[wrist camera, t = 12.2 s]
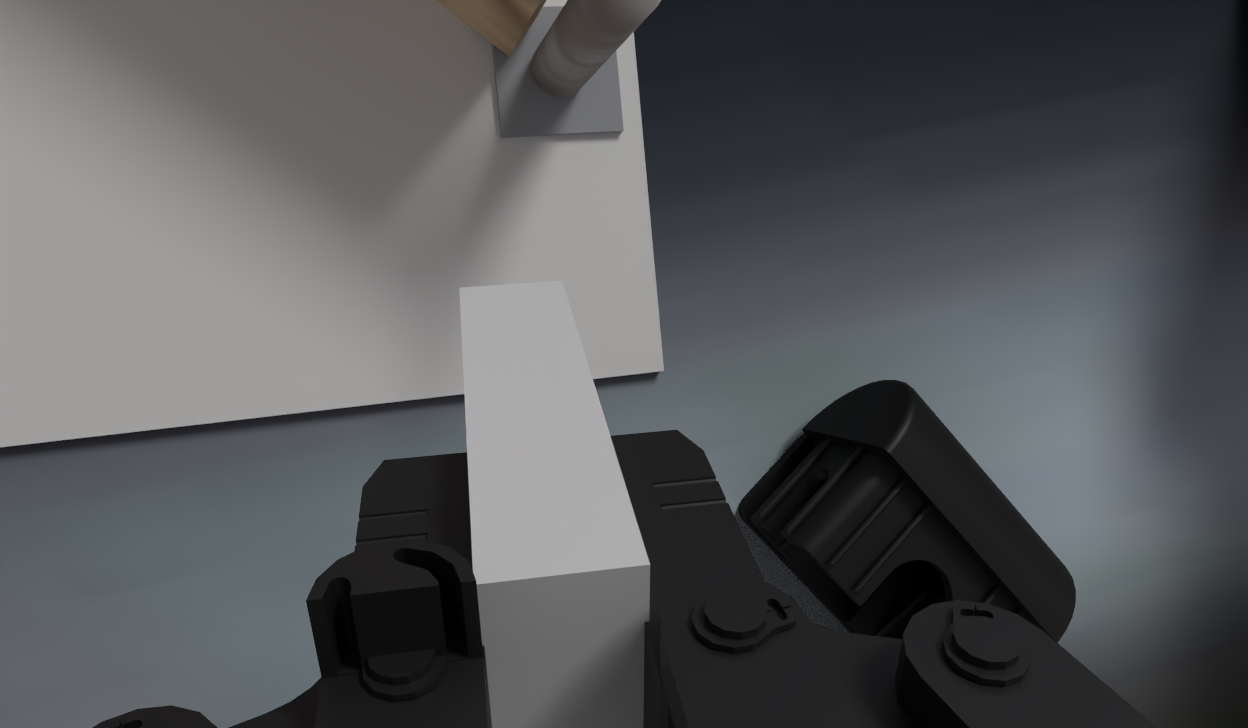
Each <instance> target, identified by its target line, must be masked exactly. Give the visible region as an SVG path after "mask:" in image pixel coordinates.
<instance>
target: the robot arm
mask: <svg viewBox="0 0 1248 728" xmlns="http://www.w3.org/2000/svg"><path fill="white" fill-rule="evenodd" d="M459 291H460V312H461V333H462V354H463V375H464V396H465V417H466V438H467V452H466V453H455V454H445V455H434V456H423V457H413V458H402V459H391V460H384V461H383V462H382V463H381V465H380V466H379V467H378V468H377V470H376V471H375V472H374V473H373V475H372V476H371V477H370V478H369V480H368V481H367V482H366V483H365V485H364V486H363V489H362V497H361V505H360V512H359V522H358V528H357V536H356V546H355V551H354V552H353V553H351V554H349V555H347V556H345V557H343V558H341V559H339V560H337V561H336V562H335V563H333V564H332V565H331V566H330V567H329V568H328V569H327V570H326V571H325V572H324V573H322V574H321V575H320V576H319V577H318V578H317V579H316V581H315V583H314V585H313V587H312V589H311V591H310V594H309V596H308V598H307V600H306V602H307V607H308V612H309V617H310V622H311V627H312V632H313V637H314V642H315V647H316V652H317V657H318V662H319V666H320V671H321V676H322V677H321V678H320V679H319V680H318V681H317V682H316V683H315V684H314V685H313V686H312V687H311V688H310V689H308V690H307V691H305V692H304V693H303V694H301V695H300V696H298V697H297V698H295V699H294V700H292V701H291V702H289V703H287V704H285V705H283V706H281V707H279V708H276V709H274V710H272V711H270V712H268V713H266V714H263V715H261V716H258V717H255V718H253V719H250V720H248V721H245V722H242V723H240V724H237V725H234V726H232V727H229V728H1157V727H1155V726H1154V725H1153V724H1152V723H1151V722H1150V721H1148V720H1147V719H1146V718H1145V717H1144V716H1143V715H1141V714H1140V713H1139V712H1138V711H1137V710H1135V709H1134V708H1133V707H1132V706H1131V705H1130V704H1128V703H1127V702H1126V701H1125V700H1124V699H1122V698H1121V697H1120V696H1119V695H1118V694H1117V693H1115V692H1114V691H1113V690H1112V689H1111V688H1110V687H1108V686H1107V685H1106V684H1105V683H1104V682H1102V681H1101V680H1100V679H1099V678H1098V677H1097V676H1095V675H1094V674H1093V673H1092V672H1091V671H1090V670H1088V669H1087V668H1086V667H1085V666H1084V665H1082V664H1081V663H1080V662H1079V661H1078V660H1077V659H1075V658H1074V657H1073V656H1072V655H1071V654H1070V653H1068V652H1067V651H1066V650H1065V649H1064V648H1062V647H1061V646H1060V645H1059V644H1058V643H1057V642H1055V641H1054V640H1053V639H1052V638H1051V637H1050V636H1048V635H1047V634H1046V633H1045V632H1044V631H1042V630H1041V629H1039V628H1038V627H1036V626H1035V625H1033V624H1031V623H1030V622H1028V621H1027V620H1025V619H1024V618H1022V617H1021V616H1019V615H1018V614H1015V613H1012V612H1010V611H1007V610H1004V609H1001V608H999V607H996V606H993V605H990V604H987V603H979V602H970V601H961V600H955V601H948V602H942V603H936V604H931V605H929V606H928V607H926V608H924V609H923V610H921V611H919V612H918V613H916V614H914V615H913V616H912V618H911V620H910V621H909V623H908V625H907V627H906V629H905V631H904V633H903V638H902V639H896V638H888V637H879V636H871V635H863V634H854V633H848V632H843V631H838V630H833V629H828V628H825V627H823V626H820V625H817V624H815V623H812V622H810V621H809V620H808V618H807V616H806V614H805V613H804V612H803V611H802V609H801V608H800V607H799V606H798V604H797V603H796V602H795V601H794V600H793V598H792V597H790V596H789V595H787V594H785V593H784V592H782V591H781V590H779V589H777V588H776V587H774V586H772V585H771V584H768V583H765V581H764V579H763V577H762V575H761V573H760V571H759V568H758V566H757V564H756V562H755V560H754V558H753V556H752V553H751V551H750V549H749V547H748V545H747V543H746V541H745V538H744V536H743V534H742V532H741V530H740V528H739V526H738V523H737V521H736V519H735V517H734V515H733V513H732V511H731V508H730V506H729V504H728V503H726V499H725V496H724V493H723V491H722V489H721V487H720V485H719V483H718V481H717V482H716V476H715V474H714V472H713V470H712V468H711V466H710V463H709V461H708V459H707V457H706V455H705V453H704V451H703V450H702V449H701V448H700V447H698V446H697V445H696V444H694V443H693V442H692V441H690V440H689V439H688V438H687V437H685V436H684V435H683V434H681V433H680V432H679V431H678V430H670V431H659V432H648V433H638V434H627V435H616V436H610V433H609V430H608V427H607V424H606V420H605V417H604V414H603V411H602V407H601V404H600V401H599V398H598V395H597V391H596V388H595V385H594V382H593V378H592V375H591V372H590V369H589V365H588V362H587V359H586V356H585V353H584V349H583V346H582V343H581V340H580V336H579V333H578V330H577V327H576V324H575V320H574V317H573V314H572V311H571V307H570V304H569V301H568V298H567V294H566V291H565V288H564V285H563V282H562V281H550V282H535V283H520V284H505V285H490V286H475V287H460V288H459ZM93 728H217V727H216V726H215V725H214V724H213V723H211V722H210V721H209V720H208V719H207V718H206V717H205V716H203V715H202V714H201V713H200V712H197V711H192V710H188V709H184V708H180V707H175V706H163V707H153V708H143V709H136V710H134V711H131V712H128V713H125V714H123V715H120V716H117V717H114V718H111V719H109V720H106V721H103V722H101V723H99V724H98V725H96V726H95V727H93Z"/></svg>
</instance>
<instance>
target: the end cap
mask: <svg viewBox="0 0 1248 728" xmlns="http://www.w3.org/2000/svg"><path fill="white" fill-rule="evenodd" d="M802 430H803V432H804V434H803V435H801V436H800V437H799V438H798V439H797V440H796V441H795V442H794V444H793V445H792V446H791V447H790V448H789V449H788V450H787V451H786V452H785V453H784V454H783V455H782V456H781V458H780V459H779V460H778V461H777V462H776V463H775V464H774V465H773V466H772V467H771V468H770V469H769V471H768V472H767V473H766V474H765V475H764V476H763V477H762V478H761V479H760V480H759V481H758V482H757V484H756V485H755V486H754V487H753V488H752V489H751V490H750V491H749V492H748V493H747V494H746V495H745V496H744V498H743V499H742V501H741V503H740V504H739V514H740V516H741V518H742V520H743V521H744V522H745V523H746V524H747V525H748V526H749V527H750V528H751V529H752V530H753V531H754V532H755V533H756V534H757V535H758V536H759V538H760V539H761V540H762V541H763V542H764V543H765V544H766V545H767V546H768V547H769V548H770V549H771V550H772V551H773V552H774V553H775V554H776V555H777V556H778V557H779V559H780V560H781V561H782V562H783V563H784V564H785V565H786V566H787V567H788V568H789V569H790V570H791V571H792V572H793V573H794V574H795V575H796V576H797V577H798V578H799V579H800V581H801V582H802V583H803V584H804V585H805V586H806V587H807V588H808V589H809V590H810V591H811V592H812V593H813V594H814V595H815V596H816V597H817V598H818V599H819V600H820V602H821V603H822V604H823V605H824V606H825V607H826V608H827V609H828V610H829V611H830V612H831V613H832V614H833V615H834V616H835V617H836V618H837V619H838V620H839V621H840V623H841V624H842V625H843V626H844V627H845V628H846V629H847V630H848V631H849V632H850V633H854V634H863V635H871V636H879V637H888V638H896V639H902V638H903V633H904V631H905V629H906V627H907V625H908V623H909V621H910V620H911V618H912V616H913V615H914V614H916V613H918V612H919V611H921V610H923V609H924V608H926V607H928V606H929V605H931V604H936V603H942V602H948V601H955V600H961V601H970V602H979V603H987V604H990V605H993V606H996V607H999V608H1001V609H1004V610H1007V611H1010V612H1012V613H1015V614H1018V615H1019V616H1021V617H1022V618H1024V619H1025V620H1027V621H1028V622H1030V623H1031V624H1033V625H1035V626H1036V627H1038V628H1039V629H1041V630H1042V631H1044V632H1045V633H1046V634H1047V635H1048V636H1050V637H1051V638H1052V639H1053V640H1054V641H1055V642H1057V643H1058V641H1059V640H1060V638H1061V637H1062V635H1063V634H1064V633H1065V631H1066V629H1067V627H1068V625H1069V623H1070V621H1071V618H1072V616H1073V612H1074V608H1075V600H1076V590H1075V586H1074V582H1073V578H1072V576H1071V575H1070V573H1069V571H1068V570H1067V568H1066V567H1065V565H1064V564H1063V563H1062V562H1061V561H1060V560H1059V558H1058V557H1057V556H1056V555H1055V554H1054V553H1053V551H1052V550H1051V549H1050V548H1049V547H1048V546H1047V544H1046V543H1045V542H1044V541H1043V540H1042V539H1041V537H1040V536H1039V535H1038V534H1037V533H1036V532H1035V530H1034V529H1033V528H1032V527H1031V526H1030V525H1029V523H1028V522H1027V521H1026V520H1025V519H1024V518H1023V516H1022V515H1021V514H1020V513H1019V512H1018V511H1017V509H1016V508H1015V507H1014V506H1013V505H1012V503H1011V502H1010V501H1009V500H1008V499H1007V498H1006V496H1005V495H1004V494H1003V493H1002V492H1001V491H1000V489H999V488H998V487H997V486H996V485H995V484H994V482H993V481H992V480H991V479H990V478H989V477H988V475H987V474H986V473H985V472H984V471H983V470H982V468H981V467H980V466H979V465H978V464H977V463H976V461H975V460H974V459H973V458H972V457H971V456H970V454H969V453H968V452H967V451H966V450H965V449H964V447H963V446H962V445H961V444H960V443H959V442H958V440H957V439H956V438H955V437H954V436H953V435H952V433H951V432H950V431H949V430H948V429H947V428H946V426H945V425H944V424H943V423H942V422H941V420H940V419H939V418H938V417H937V416H936V415H935V413H934V412H933V411H932V410H931V409H930V408H929V406H928V405H927V404H926V403H925V402H924V401H923V399H922V398H921V397H920V396H919V395H918V394H917V392H916V391H915V390H914V389H913V388H912V387H910V386H909V385H908V384H906V383H904V382H901V381H897V380H882V381H877V382H872V383H870V384H867V385H864V386H861V387H859V388H857V389H855V390H853V391H851V392H849V393H847V394H845V395H844V396H842V397H841V398H839V399H837V400H836V401H834V402H833V403H832V404H830V405H829V406H827V407H826V408H825V409H823V410H822V411H821V412H820V413H819V414H818V415H816V416H815V417H814V418H813V419H812V420H811V421H810V422H809V423H808V424H807V425H806V426H805V427H804V428H803V429H802Z"/></svg>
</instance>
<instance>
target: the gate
mask: <svg viewBox="0 0 1248 728" xmlns="http://www.w3.org/2000/svg"><path fill="white" fill-rule="evenodd" d="M436 1H438V2H439V3H440V4H441V5H443V6H444V7H445V8H447V9H448V10H449V11H451V12H452V13H453V14H454V15H456V16H457V17H458V18H460V19H461V20H462V21H463V22H465V23H466V24H467V25H469V26H470V27H471V28H472V29H474V30H475V31H476V32H478V33H479V34H480V35H481V36H483V37H484V38H485V39H487V40H488V41H489V42H490V43H492V44H493V45H494V46H496V47H497V48H498V49H500V50H501V51H502V52H503V53H505V54H506V55H507V56H510V55H511V53H512V52H513V51H514V49H515V48H516V46H517V45H518V44H519V42H520V41H521V39H522V38H523V36H524V35H525V34H526V32H527V31H528V29H529V28H530V27H531V25H532V24H533V22H534V21H535V19H536V18H537V16H538V14H539V12H540V11H541V9H542V7H543V5H544V4H545V2H546V0H436ZM660 1H661V0H567V2H566V4H565V5H564V7H563V8H562V10H561V11H560V13H559V15H558V16H557V18H556V19H555V21H554V22H553V24H552V26H551V27H550V29H549V30H548V32H547V34H546V35H545V37H544V38H543V40H542V41H541V43H540V45H539V46H538V48H537V49H536V51H535V53H534V55H533V58H532V63H531V69H532V74H533V77H534V79H535V81H536V83H537V84H538V86H539V87H540V88H541V89H542V90H543V91H545V92H546V93H548V94H550V95H552V96H556V97H567V96H570V95H573V94H575V93H576V92H578V91H579V90H580V89H581V88H582V87H583V86H584V85H585V83H586V82H587V81H588V80H589V79H590V78H591V77H592V76H593V75H594V74H595V73H596V72H597V71H598V70H599V68H600V67H601V66H602V65H603V64H604V63H605V62H606V61H607V60H608V59H609V58H610V57H611V56H612V54H613V53H614V52H615V51H616V50H617V49H618V48H619V47H620V46H621V45H622V44H623V43H624V42H625V40H626V39H627V38H628V37H629V36H630V35H631V34H632V33H633V32H634V31H635V30H636V29H637V28H638V27H639V25H640V24H641V23H642V22H643V21H644V20H645V19H646V18H647V17H648V16H649V15H650V14H651V13H652V11H653V10H654V9H655V8H656V7H657V6H658V5H659V3H660Z"/></svg>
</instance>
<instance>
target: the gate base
mask: <svg viewBox="0 0 1248 728" xmlns="http://www.w3.org/2000/svg"><path fill="white" fill-rule="evenodd" d="M566 2H567V0H546V2H545V4H544V5H543V7H542V9H541V11H540V12H539V14H538V16H537V18H536V19H535V21H534V22H533V24H532V25H531V27H530V28H529V29H528V31H527V32H526V34H525V35H524V36H523V38H522V39H521V41H520V42H519V44H518V45H517V46H516V48H515V49H514V51H513V52H512V53H511V55H510V56H507V55H506V54H505V53H503V52H502V51H501V50H500V49H498V48H497V47H496V46H494V45H493V44H492V43H490V42H489V41H488V40H487V39H485V38H484V37H483V36H481V35H480V34H479V33H478V32H476V31H475V30H474V29H472V28H471V27H470V26H469V25H467V24H466V23H465V22H463V21H462V20H461V19H460V18H458V17H457V16H456V15H454V14H453V13H452V12H451V11H449V10H448V9H447V8H445V7H444V6H443V5H441V4H440V3H439V2H438V1H436V0H0V447H8V446H17V445H25V444H34V443H43V442H51V441H60V440H69V439H77V438H86V437H95V436H103V435H112V434H121V433H129V432H138V431H147V430H155V429H164V428H173V427H182V426H190V425H199V424H208V423H216V422H225V421H234V420H242V419H251V418H260V417H268V416H277V415H286V414H294V413H303V412H312V411H320V410H329V409H338V408H347V407H355V406H364V405H373V404H381V403H390V402H399V401H407V400H416V399H425V398H433V397H442V396H451V395H459V394H464V375H463V354H462V333H461V312H460V291H459V288H460V287H475V286H490V285H505V284H520V283H535V282H550V281H562V282H563V285H564V288H565V291H566V294H567V298H568V301H569V304H570V307H571V311H572V314H573V317H574V320H575V324H576V327H577V330H578V333H579V336H580V340H581V343H582V346H583V349H584V353H585V356H586V359H587V362H588V365H589V369H590V372H591V375H592V378H593V379H598V378H607V377H616V376H624V375H633V374H642V373H650V372H659V371H664V366H663V355H662V344H661V333H660V322H659V311H658V299H657V288H656V277H655V266H654V255H653V244H652V232H651V221H650V210H649V199H648V188H647V177H646V165H645V154H644V143H643V132H642V121H641V110H640V99H639V87H638V76H637V65H636V54H635V43H634V32H633V33H632V34H631V35H630V36H629V37H628V38H627V39H626V40H625V42H624V43H623V44H622V45H621V46H620V47H619V48H618V49H617V50H616V51H615V52H614V53H613V54H612V56H611V57H610V58H609V59H608V60H607V61H606V62H605V63H604V64H603V65H602V66H601V67H600V68H599V70H598V71H597V72H596V73H595V74H594V75H593V76H592V77H591V78H590V79H589V80H588V81H587V82H586V83H585V85H584V86H583V87H582V88H581V89H580V90H579V91H578V92H576V93H575V94H573V95H570V96H567V97H556V96H552V95H550V94H548V93H546V92H545V91H543V90H542V89H541V88H540V87H539V86H538V84H537V83H536V81H535V79H534V77H533V74H532V69H531V63H532V58H533V55H534V53H535V51H536V49H537V48H538V46H539V45H540V43H541V41H542V40H543V38H544V37H545V35H546V34H547V32H548V30H549V29H550V27H551V26H552V24H553V22H554V21H555V19H556V18H557V16H558V15H559V13H560V11H561V10H562V8H563V7H564V5H565V4H566Z"/></svg>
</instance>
